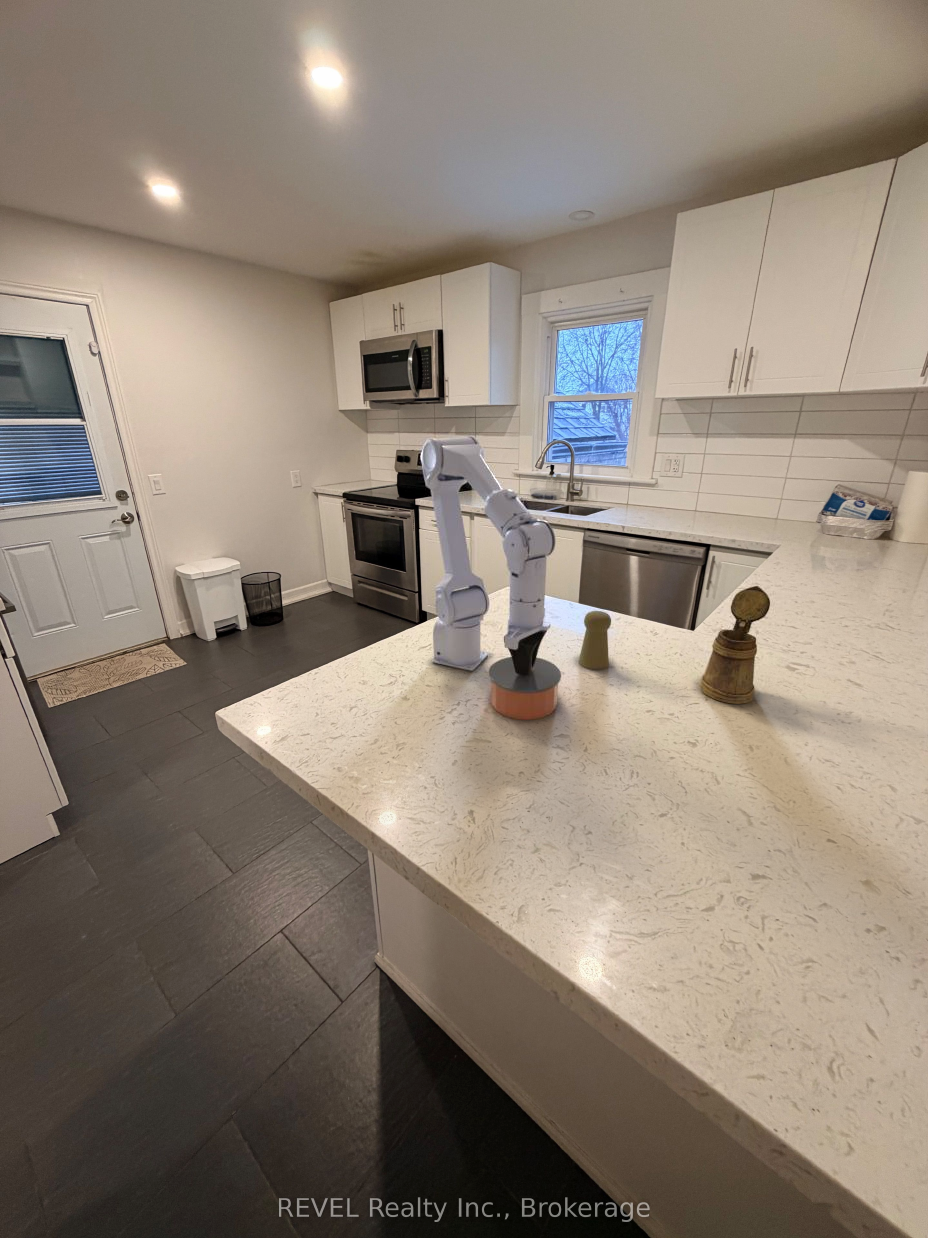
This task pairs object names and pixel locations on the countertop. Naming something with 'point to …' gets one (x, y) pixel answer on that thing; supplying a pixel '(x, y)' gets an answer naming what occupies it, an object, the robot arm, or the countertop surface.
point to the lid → (525, 676)
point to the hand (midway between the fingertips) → (524, 669)
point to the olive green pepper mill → (595, 641)
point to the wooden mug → (736, 651)
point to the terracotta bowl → (523, 703)
